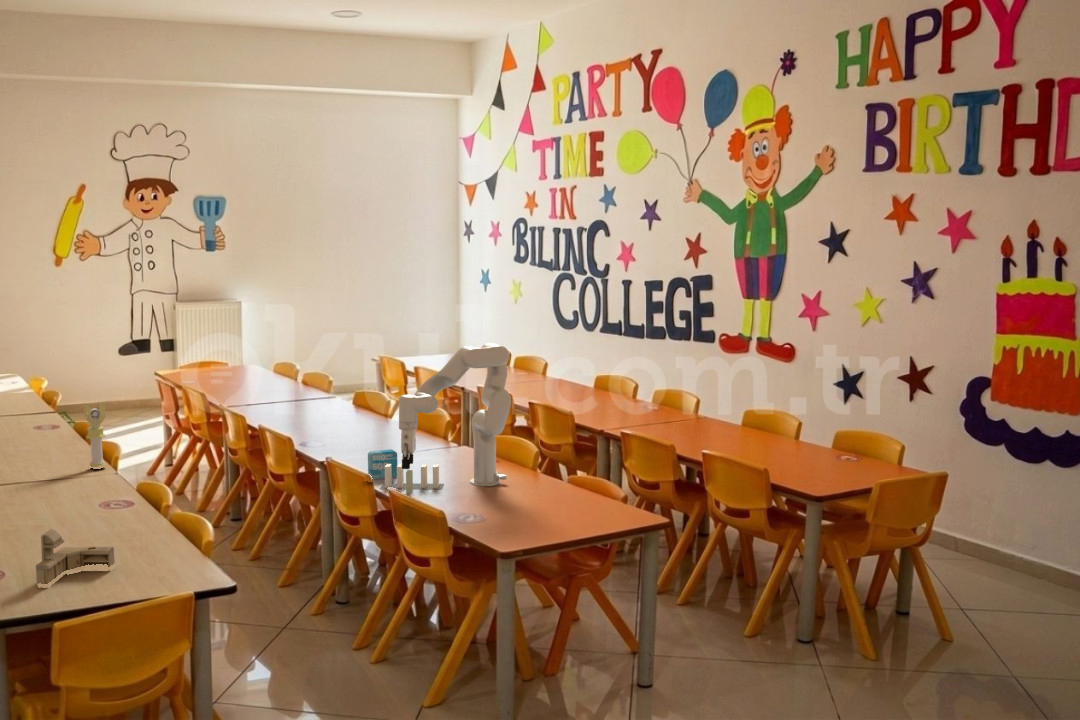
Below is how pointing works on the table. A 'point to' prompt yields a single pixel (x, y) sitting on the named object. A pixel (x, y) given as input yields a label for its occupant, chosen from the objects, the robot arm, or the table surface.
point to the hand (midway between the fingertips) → (407, 466)
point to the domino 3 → (409, 481)
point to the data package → (381, 463)
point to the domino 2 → (400, 476)
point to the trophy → (95, 432)
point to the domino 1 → (388, 476)
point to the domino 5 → (435, 475)
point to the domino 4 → (424, 476)
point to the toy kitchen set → (67, 557)
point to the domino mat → (414, 487)
